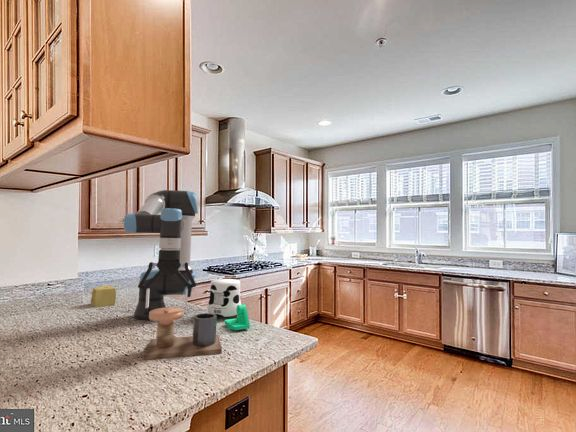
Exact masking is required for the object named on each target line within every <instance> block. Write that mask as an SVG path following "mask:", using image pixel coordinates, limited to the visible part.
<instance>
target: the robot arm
mask: <svg viewBox="0 0 576 432" xmlns="http://www.w3.org/2000/svg"><path fill="white" fill-rule="evenodd" d="M198 204H199V203H198V197H197V192H196V191H189V190H172V189H171V190H170V189H163V190H159V191H156V192H153V193H151V194H150V195H148V196H147V197H146V199H145V200H144V203H143V205H142V206H141V207H140V208H139V210H138V211H136V213H133V212H132V213H126V214H125V216H124V218H123V230H124V231H125V232H126V233H134V234H159V242H158V243H159V245H158V248H159V250H158V258H157V259H158V261H157V262H153V261H151V262H149V263H148V267H147V270H146V271H143V272H141V273H140V275H139V283H138V285H137V288H138V302H137V305H136V307H135V310H134V312H133V318H134V319H135V320H139V321H151V320H150V319H149V312H150V311H151V310H154V309H158V308H166V304H165V300H164V297H165V296H176V295H177V296H185V298H184V300H185V301H184V307H185V308H187V307H188V298H191V297H192V292H193V289H194V288H195V287H196V286H197V282H196V280H195V277H196V272H195V271H194V268H193V267H192V266H191V251H192V248H191V247H192V224H193V219H194V218H195V217H196V215H197V214H198V213H199V206H198ZM156 267H157V268H156ZM155 268H156V269H155Z"/></svg>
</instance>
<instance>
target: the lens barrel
mask: <svg viewBox="0 0 576 432" xmlns="http://www.w3.org/2000/svg"><path fill="white" fill-rule="evenodd" d="M217 319H218V318H217V316H216V315H215V314H212V313H208V312H206V313H205V312H204V313H198V314H195V315H193V320H192V336H193V340H192V343H193V345H195V346H200V347H205V346H210V345H213V344H214V343H215V342H216V335H217Z"/></svg>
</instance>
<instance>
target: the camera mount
mask: <svg viewBox="0 0 576 432" xmlns="http://www.w3.org/2000/svg"><path fill="white" fill-rule="evenodd" d="M236 311H237V314H238V315H237V316H236V318H235V317H234V318H226V319H224V325H226V329H228V330H230V331H239V330H245V329H250V328H251V323H250V319H249V318H250V317H249V314H248V308H247V305H246V304H241V305H237V308H236Z"/></svg>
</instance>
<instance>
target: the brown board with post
mask: <svg viewBox="0 0 576 432" xmlns="http://www.w3.org/2000/svg"><path fill="white" fill-rule="evenodd" d="M175 325H176V323H175V321H173V324H171V325H159V322H158V323H157V329H156V338H150V339H149V342H148V345H147V348H146V350H145V353H144V356H143V357H144V358H143V360H154V359H155V360H156V359H168V358H179V357H189V356H204V355H216V354H217V355H218V354H222V352H223V351H222V349H223V348H222V344H221V340H220V336H219V334H216V342H215V343H214V344H213V345H210V346H205V347H200V346H195V345H193V343H192V340H193V335H192V336H181V337H179V336H178V337H175V328H176V327H175Z"/></svg>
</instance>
